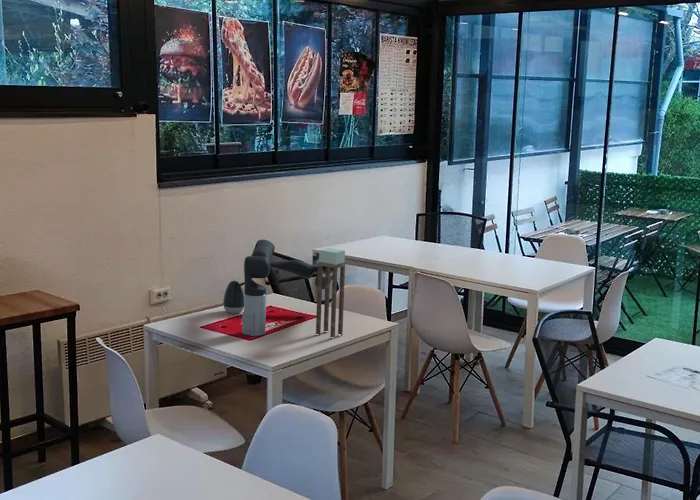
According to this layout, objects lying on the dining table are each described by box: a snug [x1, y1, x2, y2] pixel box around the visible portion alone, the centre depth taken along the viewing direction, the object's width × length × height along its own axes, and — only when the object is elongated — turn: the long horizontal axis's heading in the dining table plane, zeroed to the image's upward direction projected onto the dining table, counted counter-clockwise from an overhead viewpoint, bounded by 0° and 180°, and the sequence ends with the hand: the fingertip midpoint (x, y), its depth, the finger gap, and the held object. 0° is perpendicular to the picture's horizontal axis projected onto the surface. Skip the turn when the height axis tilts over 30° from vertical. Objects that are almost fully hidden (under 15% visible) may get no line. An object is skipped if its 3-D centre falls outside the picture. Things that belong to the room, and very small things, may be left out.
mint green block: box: [318, 248, 346, 265], centre depth 337 cm, size 15×15×5 cm
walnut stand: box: [315, 262, 346, 338], centre depth 335 cm, size 7×9×32 cm
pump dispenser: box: [222, 280, 245, 315], centre depth 368 cm, size 10×10×15 cm
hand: (329, 254), depth 342 cm, fingers open, 8 cm apart
